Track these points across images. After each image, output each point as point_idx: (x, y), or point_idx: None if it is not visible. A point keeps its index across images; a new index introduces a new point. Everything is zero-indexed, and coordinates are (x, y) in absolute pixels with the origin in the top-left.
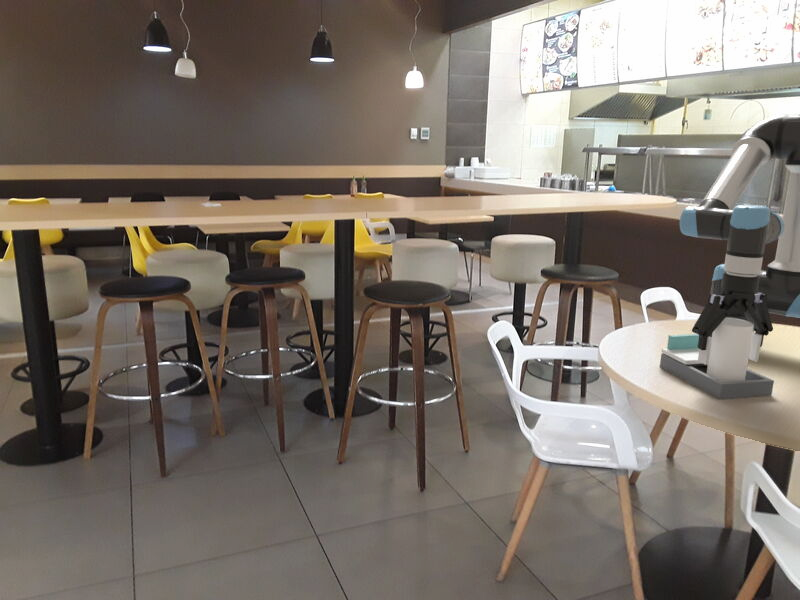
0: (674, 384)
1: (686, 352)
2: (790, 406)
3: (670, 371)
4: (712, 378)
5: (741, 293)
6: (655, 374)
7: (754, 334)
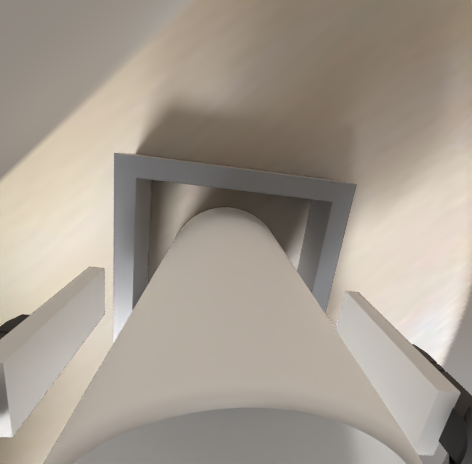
0: None
1: None
2: (151, 52)
3: None
4: (333, 242)
5: None
6: None
7: (14, 399)
